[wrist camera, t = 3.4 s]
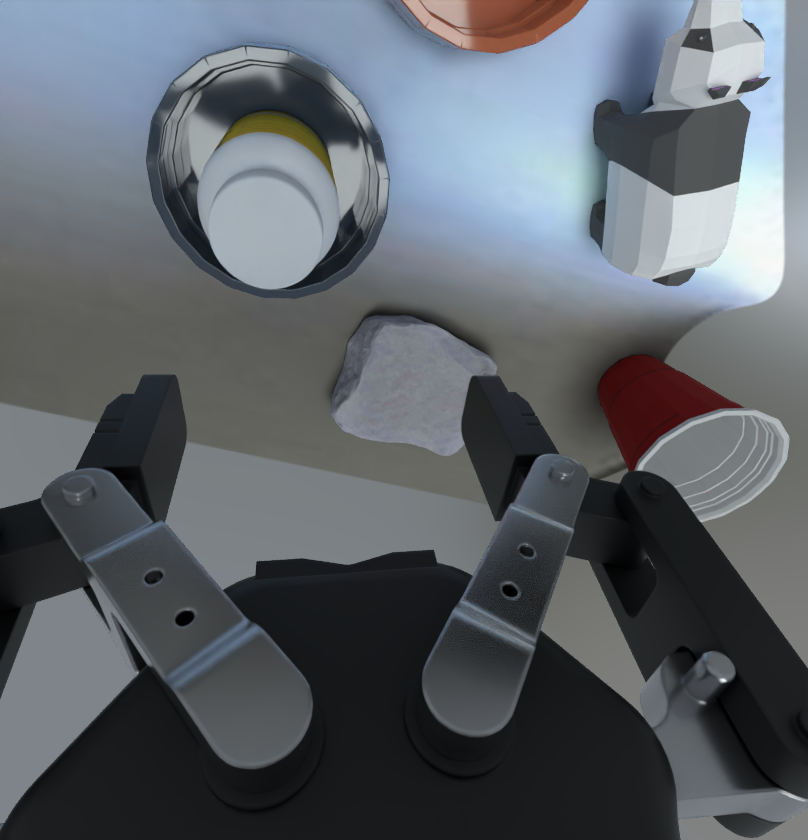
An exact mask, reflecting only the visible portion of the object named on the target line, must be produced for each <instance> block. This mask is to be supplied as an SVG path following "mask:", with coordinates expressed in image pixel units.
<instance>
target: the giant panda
mask: <svg viewBox="0 0 808 840" xmlns="http://www.w3.org/2000/svg"><path fill="white" fill-rule="evenodd" d="M764 46H765V41H764V39H763V37H762V35H761V33H760V31H759V29H757V28H756V26H755V24H754V23H753V24H752V23H748V22H747V21H745V20H744V19H743V14H742V6H741V0H694V2H693V5H692V7H691V10H690V12H689V15H688V17H687V20H686V22H685V25H684V28H682V29H681V30H679V31H677V32H676V33H674V34H673V35H671V36H670V37H668V38H667V39H666V40H665V45H664V49H663V54H662V58H661V63H660V68H659V72H658V77H657V81H656V85H655V89H654V92H653V93H652V94H651V98H650V101H649V105H648V108H647V109H646V110H644V111H642V112H641V113H639V114H636V115H625V114H623V113H622V111H621V107H620V103H619V102H618V101H613V100H605V101H604V102H602V103H600V104H598V105H597V106H596V111H595V116H594V138H595V144H596V145H597V146H599V147H600V148H601V149H602V150H603V151H604V152H605V154H606V156H607V158H608V160H609V167H608V181H607V195H606V200H601V201H599V202H598V203H596V204H594V205H593V208H592V212H591V219H590V232H591V237H592V238H593V239H594V240H595V241H596V242H597V244H598V245H599V246H600V249H601V252H602V254H603V255H604V257H605V258H606V259H607V261H608V262H609V263H610V264H611V265H612V266H614V267H616V268H618V269H620V270H622V271H624V272H626V273H628V274H630V275H632V276H637V277H642V278H647V279H653V281H654V282H657V283H660V284H663V285H666V286H679V285H681V284H683V283H685V282H687V281H688V280H689V279H690V278H691V276H692V275H693V274H694V272H695V269H697V268H702V267H708V266H710V265H711V264H712V263H713V262H714V261H716V260H717V259H718V258H719V257H720V255H721V253H722V252H723V250H724V248H725V246H726V244H727V240H728V237H729V233H730V229H731V225H732V222H733V218H734V213H735V206H736V199H737V193H738V186H739V179H740V172H741V165H742V158H743V151H744V144H745V137H746V132H747V127H748V122H749V118H750V111H749V110H748V109H747V108H746V107H745V106H744V105H743V104H742V102H741V101H740V100H739V98H740V97H741V96H742V95H743V94H744V92H749V91H754V90H756V89H758V88H759V87H761V86H763V85H764V84H765V83H766V82H767V81H768V80H769V79H770V78H771V77H766V78H763V79H761V78H758V76H759V75H760V74H761V73H762V71H763V67H764Z"/></svg>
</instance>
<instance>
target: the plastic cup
mask: <svg viewBox="0 0 808 840" xmlns="http://www.w3.org/2000/svg"><path fill="white" fill-rule="evenodd" d="M598 395H599V400H600V405H601V407H602V409H603V411H604V413H605V415H606V417H607V419H608V421H609V427H610V429H611V431H612V433H613V436H614V438H615V440H616V442H617V445H618V447H619V449H620V452H621V454H622V456H623V458H624V461H625V463H626V465H627V467H628V471H629V472H630V471H636V470H640V471H647V472H651V473H654V474H656V475H658V476H660V477H662V478H664V479H666V480H667V481H668V482H670V483H671V484H672V485H673V486H674V487H675V488H676V489H677V491H678V492H679V493H680V495H681V496H682V497H683V499H684V500H685V502H686V503H687V504H688V506H689V507H690V508H691V510H692V511H693V512H694V514H695V515H696V517H697V518H698V519H699V521H700V522H703V521H707V520H710V519H714V518H718V517H721V516H724V515H726V514H727V513H729V512H731V511H733V510H735V509H737V508H739V507H741V506H742V505H744V504H746V503H748V502H750V501H751V500H752V499H753V498H755V497H756V496H757V495H758V494H759V493H760V492H761V491H763V490H764V489H765V488H766V487H767V486H768V485H770V484H771V483H772V482H773V480H774V479H775V477H776V476H777V474H778V473H779V471H780V469H781V468H782V466H783V465H784V463H785V462H786V460H787V454H788V446H789V436H788V434H787V433H786V431H785V429H784V428H783V426H782V424H781V422H780V421H779V420H778V419H776V418H773V417H771V416H769V415H766V414H764V413H762V412H759V411H756V410H754V409H752V408H744V407H742V406H741V405H739V404H737V403H735V402H732V401H730V400H728V399H727V398H725V397H723V396H721V395H720V394H718V393H716V392H715V391H713V390H711V389H710V388H708V387H706V386H705V385H703V384H701V383H700V382H698V381H696V380H694V379H693V378H691V377H690V376H688V375H686V374H684V373H682V372H680V371H677V370H675V369H674V368H672V367H670V366H669V365H667V364H665V363H664V362H662V361H660V360H658V359H655V358H653V357H650V356H647V355H632V356H630V357H627V358H625V359H622V360H620V361H619V362H617V363H616V364H615V365H613V366H612V367H611V368H609V369H608V371H607V372H606V373H605V375H604V376H603V377H602V379H601V381H600V384H599V387H598Z"/></svg>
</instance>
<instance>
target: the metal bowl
mask: <svg viewBox="0 0 808 840" xmlns="http://www.w3.org/2000/svg"><path fill="white" fill-rule="evenodd" d="M259 110H279V111H283V112H286V113H289V114H292V115H294V116H296V117H297V118H299V119H301V120H302V121H304V122H305V123H306V124H308V125H309V126H310V127H311V128H312V129H313V130H314V131H315V132H316V133H317V135H318V136H319V137H320V139H321V140H322V142H323V144H324V146H325V148H326V150H327V152H328V155H329V158H330V161H331V166H332V170H333V175H334V179H335V184H336V188H337V194H338V200H339V209H340V217H339V226H338V231H337V234H336V237H335V240H334V242H333V244H332V246H331V248H330V250H329V251H328V253H327V254H326V255H325V257H324V258H323V259H322V260H321V261H320V262H319V263H318V264H317V265H316V266H315V267H314V268H313V270H312V271H311V272H310V273H309V274H308V275H307V276H306V277H305V278H304V279H302V280H301V281H299V282H298V283H296V284H294V285H291V286H288V287H285V288H279V289H263V288H258V287H254V286H251V285H249V284H246V283H244V282H242V281H240V280H239V279H237V278H236V277H234V276H233V275H232V274H230V273H229V272H228V271H227V270H226V269H225V268H224V267H223V266H222V264H221V263H220V262H219V260H218V259H217V257H216V256H215V254H214V252H213V249H212V247H211V244H210V241H209V239H208V237H207V235H206V233H205V231H204V229H203V226H202V224H201V221H200V217H199V212H198V204H197V192H198V184H199V180H200V177H201V174H202V171H203V169H204V166H205V164H206V163H207V161H208V160H209V158H210V156H211V155H212V154H213V152H214V150H215V148H216V147H217V146H218V144H219V142H220V141H221V140H222V138H223V137H224V135H225V133H226V132H227V131H228V129H229V128H230V127H231V126H232V125H233V124H234V123H235V122H236V121H237V120H238V119H240V118H241V117H243V116H245V115H247V114H249V113H252V112H255V111H259ZM146 164H147V170H148V175H149V181H150V186H151V192H152V197H153V201H154V204H155V206H156V208H157V210H158V212H159V214H160V216H161V218H162V220H163V222H164V223H165V225H166V227H167V229H168V231H169V233H170V235H171V237H172V238H173V240H174V241H175V242H176V243H177V244H178V245H179V246H180V247H181V249H182V250H183V251H184V252H185V253H186V254H187V255H188V256H189V257H190V259H191V260H192V261H193V262H194V263H195V264H196V265H197V266H199V268H201V269H202V270H204V271H205V272H207V273H208V274H210V275H211V276H213V277H215V278H216V279H218V280H219V281H221V282H222V283H224V284H225V285H227V286H229V287H231V288H234V289H237V290H240V291H243V292H247V293H250V294H253V295H256V296H259V297H263V298H299V297H303V296H307V295H310V294H314V293H318V292H321V291H325V290H328V289H329V288H331V287H332V286H334V285H335V284H337V283H338V282H340V281H341V280H343V279H345V278H346V277H348V276H349V275H351V274H352V273H353V272H354V271H355V270H356V269H357V268H358V267H359V265H360V264H361V263H362V262H363V260H364V259H365V258H366V257H367V256H368V254H369V253H370V252H371V251H372V249H373V248H374V246H375V244H376V241H377V239H378V236H379V234H380V231H381V229H382V226H383V224H384V221H385V219H386V215H387V208H388V195H389V182H390V179H389V172H388V167H387V163H386V158H385V154H384V149H383V144H382V140H381V137H380V135H379V134H378V132H377V130H376V128H375V126H374V124H373V123H372V121H371V119H370V117H369V115H368V113H367V112H366V110H365V108H364V106H363V104H362V102H361V101H360V100H359V98H358V97H357V96H356V94H355V93H354V92H353V91H352V90H351V89H350V88H349V87H348V86H347V85H346V84H345V83H344V82H343V81H342V80H341V79H340V78H339V77H338V76H337V75H336V74H335V73H334V72H333V71H332V70H331V69H330V68H329V67H328V66H327V65H325V64H324V63H322V62H320V61H318V60H316V59H314V58H312V57H311V56H309V55H307V54H305V53H303V52H301V51H299V50H297V49H295V48H293V47H290V46H283V45H275V44H266V43H258V42H252V43H251V42H249V43H246V44H242V45H239V46H235V47H231V48H228V49H224V50H221V51H217V52H214V53H211V54H208V55H206V56H204V57H202V58H201V59H200V60H198V61H197V62H196V63H195V64H193V65H192V66H191V67H190V68H188V69H187V70H186V71H185V72H183V73H182V74H181V75H180V76H178V77H177V78H176V79H175V80H173V82H172V83H171V84H170V86H169V88H168V89H167V91H166V93H165V95H164V97H163V99H162V100H161V102H160V104H159V106H158V108H157V110H156V111H155V113H154V115H153V117H152V120H151V126H150V134H149V141H148V148H147V155H146Z"/></svg>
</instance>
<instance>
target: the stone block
mask: <svg viewBox="0 0 808 840" xmlns="http://www.w3.org/2000/svg"><path fill="white" fill-rule="evenodd" d="M496 372H497V365H496V363H495V362H494V360H493V359H492V358H491V357H490V356H488V355H487V354H485V353H483V352H481V351H480V350H477V349H475V348H474V347H472V346H469V345H468V344H467V343H466V342H464V341H462V340H460V339H458V338H456V337H455V336H453V335H452V334H450V333H449V332H448V331H445V330H443V329H441V328H439V327H438V326H436V325H434V324H431V323H426V322H423V321H422V320H419V319H416V318H415V317H413V316H409V315H398V316H380V315H374V316H371V317H367V318H365V320H364V321H363V322H362V323H361V325H360V327H359V328H358V330H357V331H356V333H355V334H354V335H353V336H352V337H351V339H350V340H349V341H348V344H347V353H346V356H345V359H344V365H343V369H342V372H341V373H340V375H339V378H338V381H337V384H336V386H335V389H334V392H333V395H332V404H331V416H332V417H333V418H334V419H335V421H336V424H338V425H339V426H340V428H341V429H342V430H343V431H345V432H347V433H349V434H353V435H355V436H357V437H359V438H364V439H368V440H375V441H379V442H388V443H409V444H414V445H416V446H419V447H425V448H427V449H429V450H431V451H433V452H435V453H437V454H439V455H443V456H449V455H451V454H454V453H456V452H457V451H458V450H459V449H460V448H461V447H462V446H463V445H465V443H464V441H463V438H462V433H461V419H462V414H463V410H464V405H465V400H466V395H467V391H468V386H469V382H470V379H471V377H472V376H474V375H495V374H496Z"/></svg>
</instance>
